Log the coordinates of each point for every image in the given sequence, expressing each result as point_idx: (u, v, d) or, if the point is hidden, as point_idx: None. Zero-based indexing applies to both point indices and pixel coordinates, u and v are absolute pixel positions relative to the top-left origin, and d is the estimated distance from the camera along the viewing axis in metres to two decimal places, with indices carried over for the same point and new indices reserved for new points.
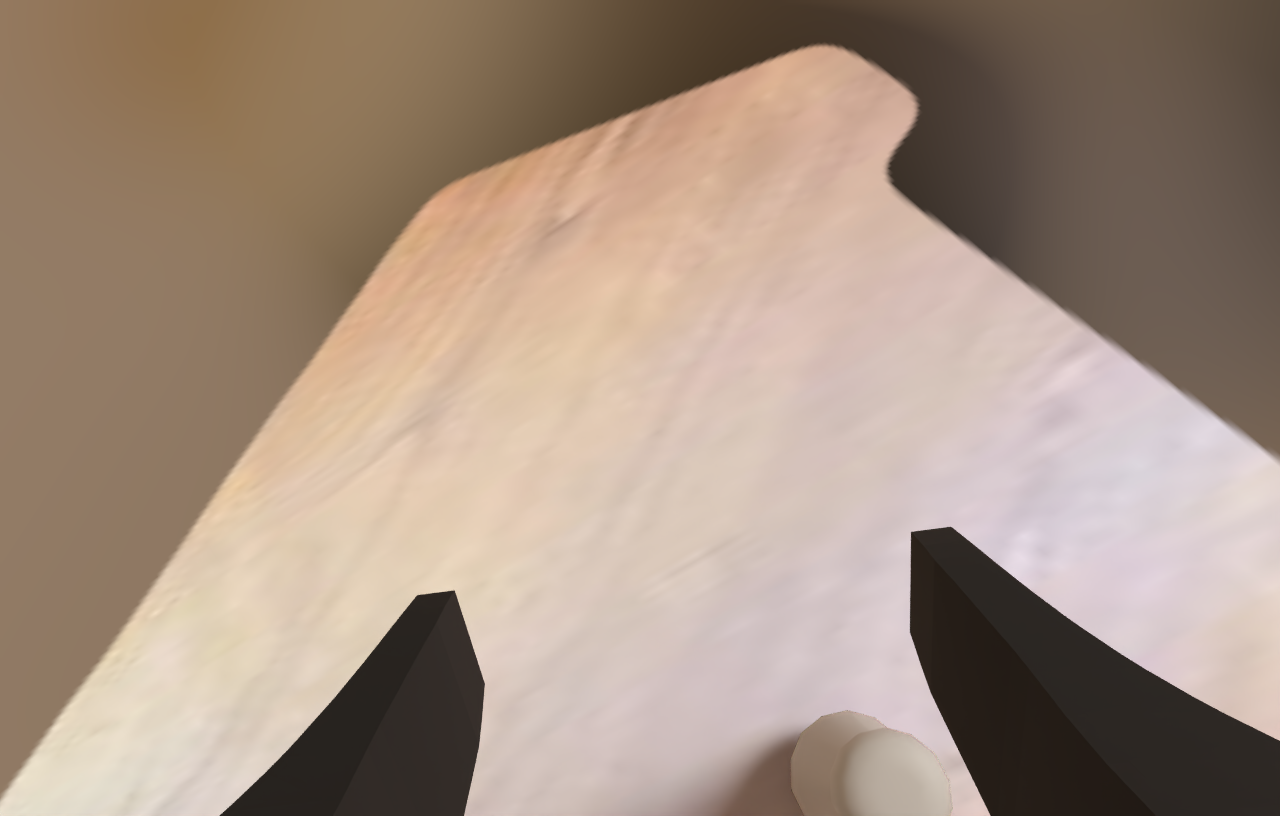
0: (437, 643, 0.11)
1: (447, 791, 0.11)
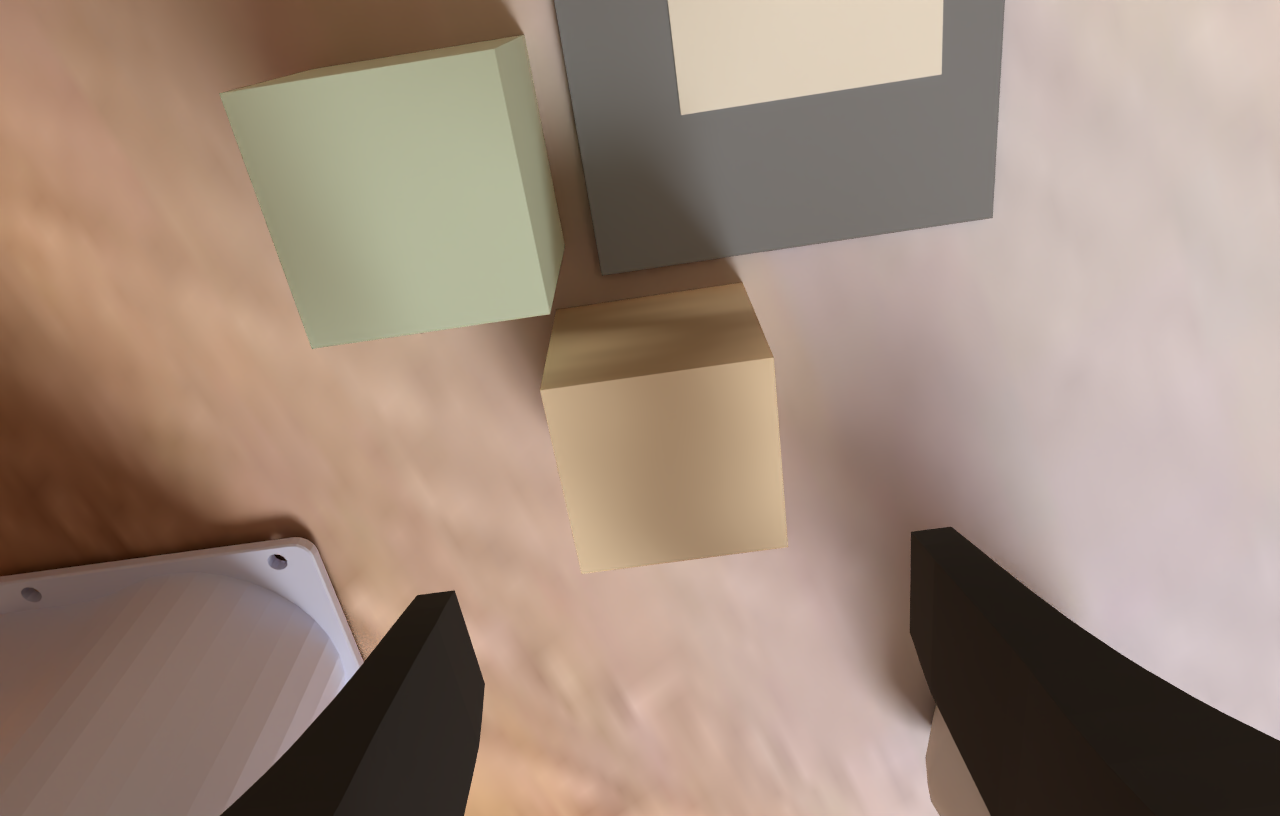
0: (438, 644, 0.11)
1: (446, 792, 0.11)
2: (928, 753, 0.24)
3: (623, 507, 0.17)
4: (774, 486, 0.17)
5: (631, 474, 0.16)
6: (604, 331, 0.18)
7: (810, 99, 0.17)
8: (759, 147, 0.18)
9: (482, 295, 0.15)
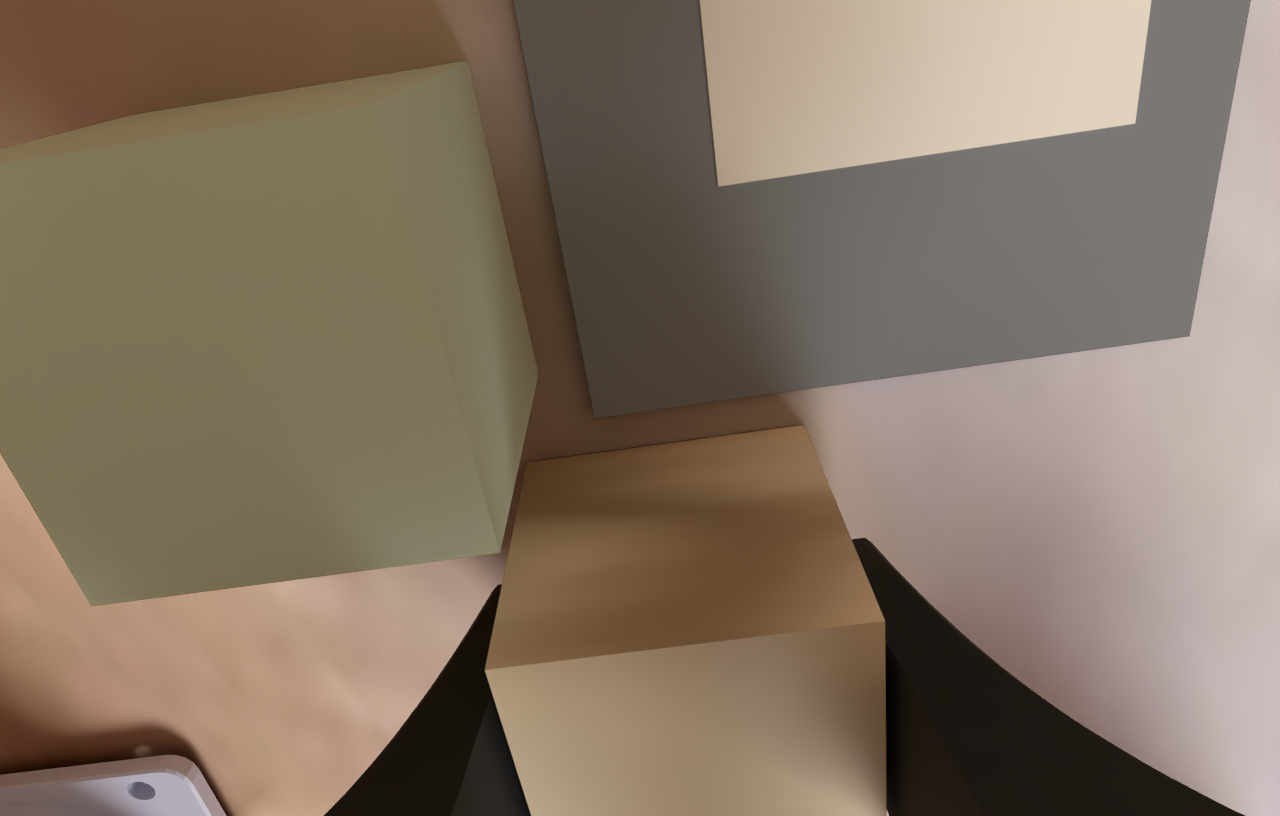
0: None
1: None
2: None
3: None
4: (871, 795, 0.10)
5: (640, 781, 0.10)
6: (596, 521, 0.11)
7: (923, 162, 0.11)
8: (839, 234, 0.11)
9: (380, 525, 0.08)
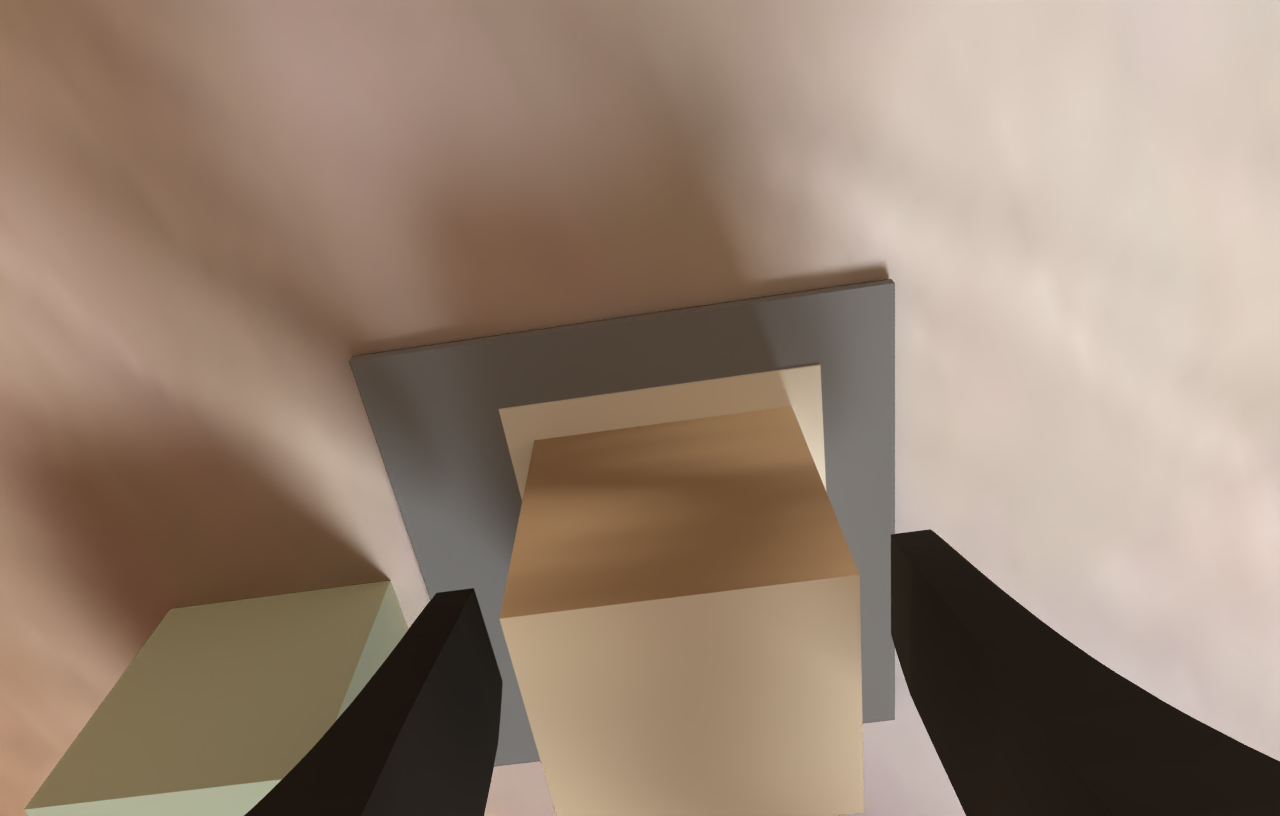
0: (458, 640, 0.11)
1: (468, 789, 0.11)
2: None
3: (625, 766, 0.11)
4: (849, 739, 0.11)
5: (638, 724, 0.11)
6: (599, 492, 0.12)
7: None
8: None
9: None
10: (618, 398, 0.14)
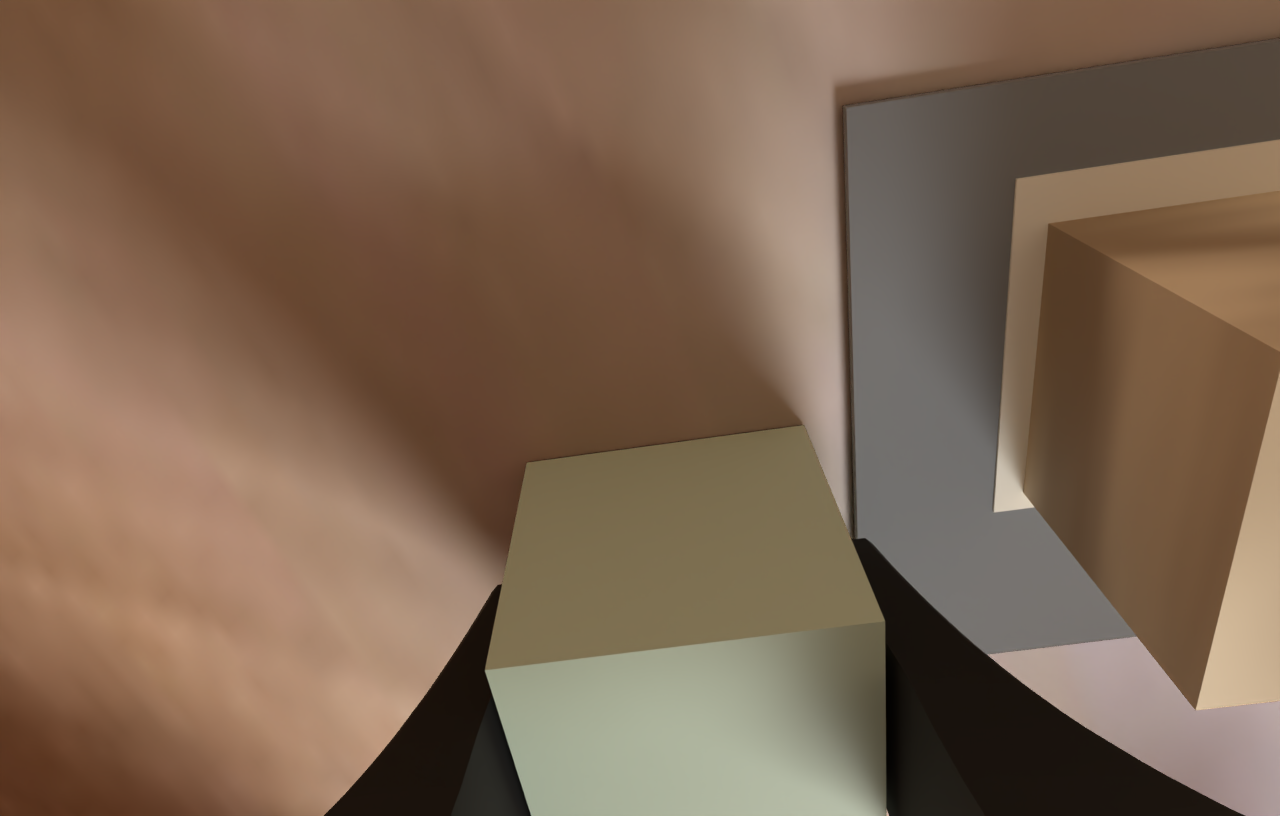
0: None
1: None
2: None
3: None
4: None
5: None
6: (1229, 251, 0.09)
7: None
8: None
9: None
10: (1171, 163, 0.11)
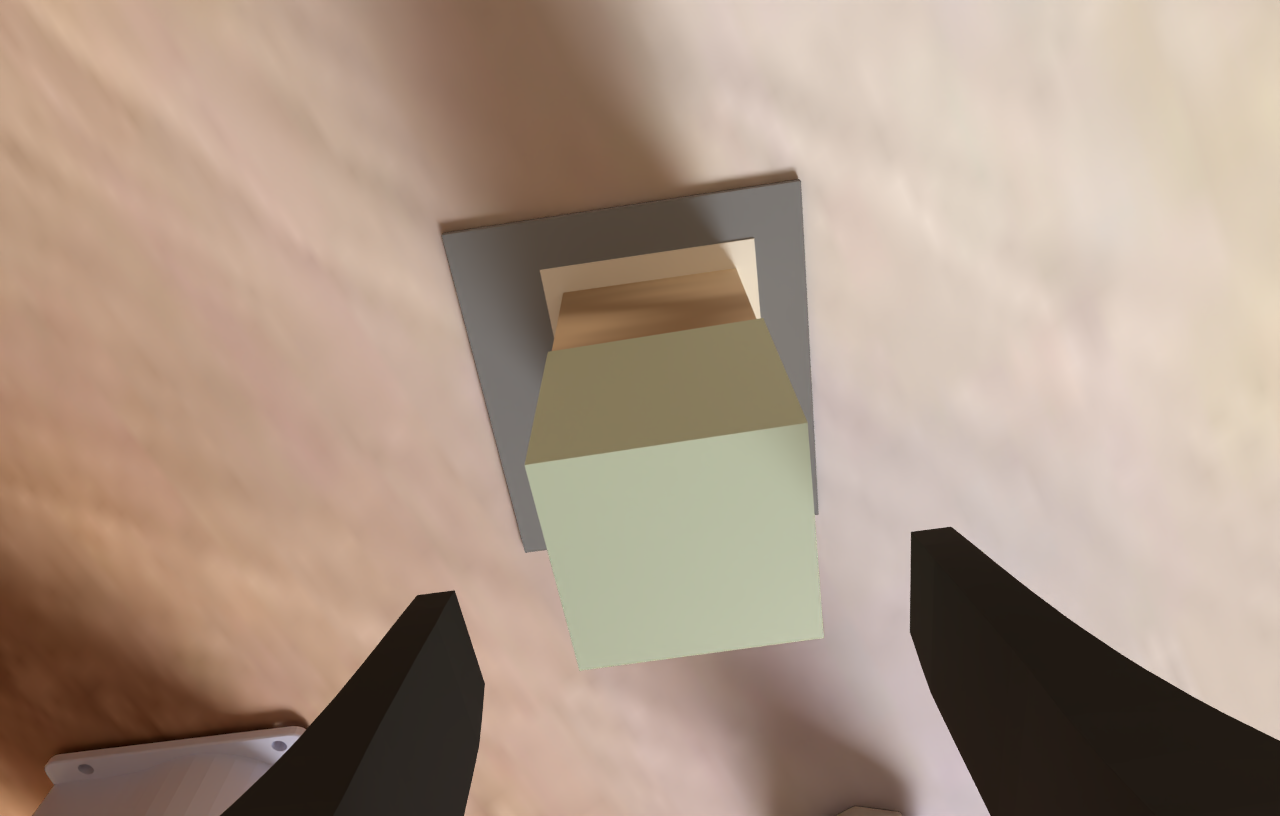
0: (437, 644, 0.11)
1: (447, 791, 0.11)
2: None
3: None
4: None
5: None
6: (607, 312, 0.19)
7: None
8: None
9: (758, 623, 0.14)
10: (619, 262, 0.21)
